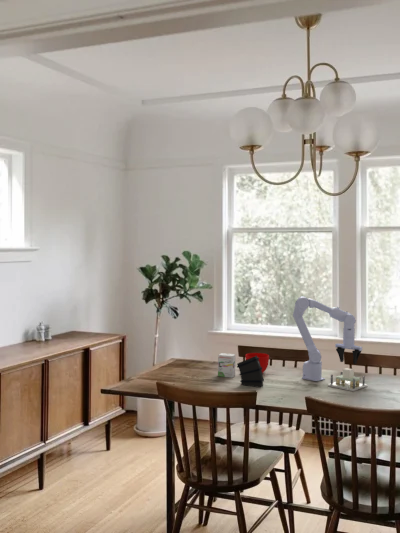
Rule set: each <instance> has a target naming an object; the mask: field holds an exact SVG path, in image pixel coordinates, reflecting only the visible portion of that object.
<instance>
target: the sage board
mask: <svg viewBox="0 0 400 533" xmlns="http://www.w3.org/2000/svg"><path fill="white" fill-rule="evenodd" d="M342 372H343V375H341V374H340V375H337V376H335V380H336V379H340V380H346V381H351V382H353V379H355V381H358V380H360V381H361V377H358V376H355V369H354V368H348V367H346V368H342Z"/></svg>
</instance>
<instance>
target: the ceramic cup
mask: <svg viewBox="0 0 400 533" xmlns="http://www.w3.org/2000/svg"><path fill="white" fill-rule="evenodd" d="M255 356H257V357H259V359H258V360H259V362H260V365H261V367H262V374H264V372H266V370H267V369H268V366H269V363H270V362H269V361H270V355H269V354H267V353H263V352H249V353H246V354H245V360H247V359H250V358H252V357H255Z"/></svg>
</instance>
